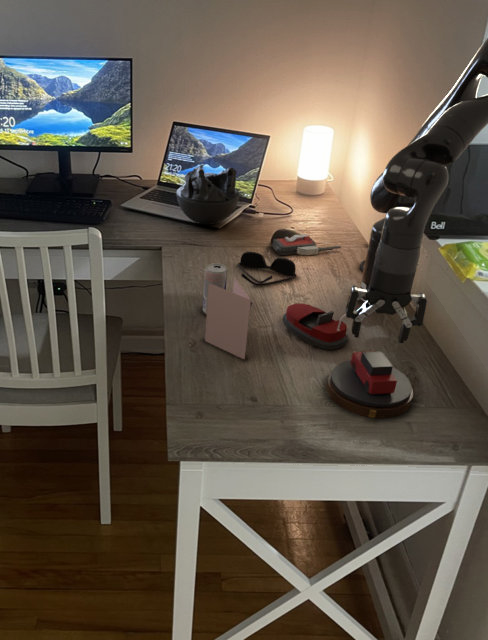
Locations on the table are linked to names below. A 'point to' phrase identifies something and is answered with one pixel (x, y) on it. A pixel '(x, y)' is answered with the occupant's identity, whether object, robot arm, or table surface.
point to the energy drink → (214, 280)
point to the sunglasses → (266, 267)
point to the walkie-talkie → (298, 245)
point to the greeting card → (228, 318)
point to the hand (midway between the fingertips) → (378, 338)
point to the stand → (366, 409)
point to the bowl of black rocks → (208, 195)
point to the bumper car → (316, 326)
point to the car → (371, 380)
